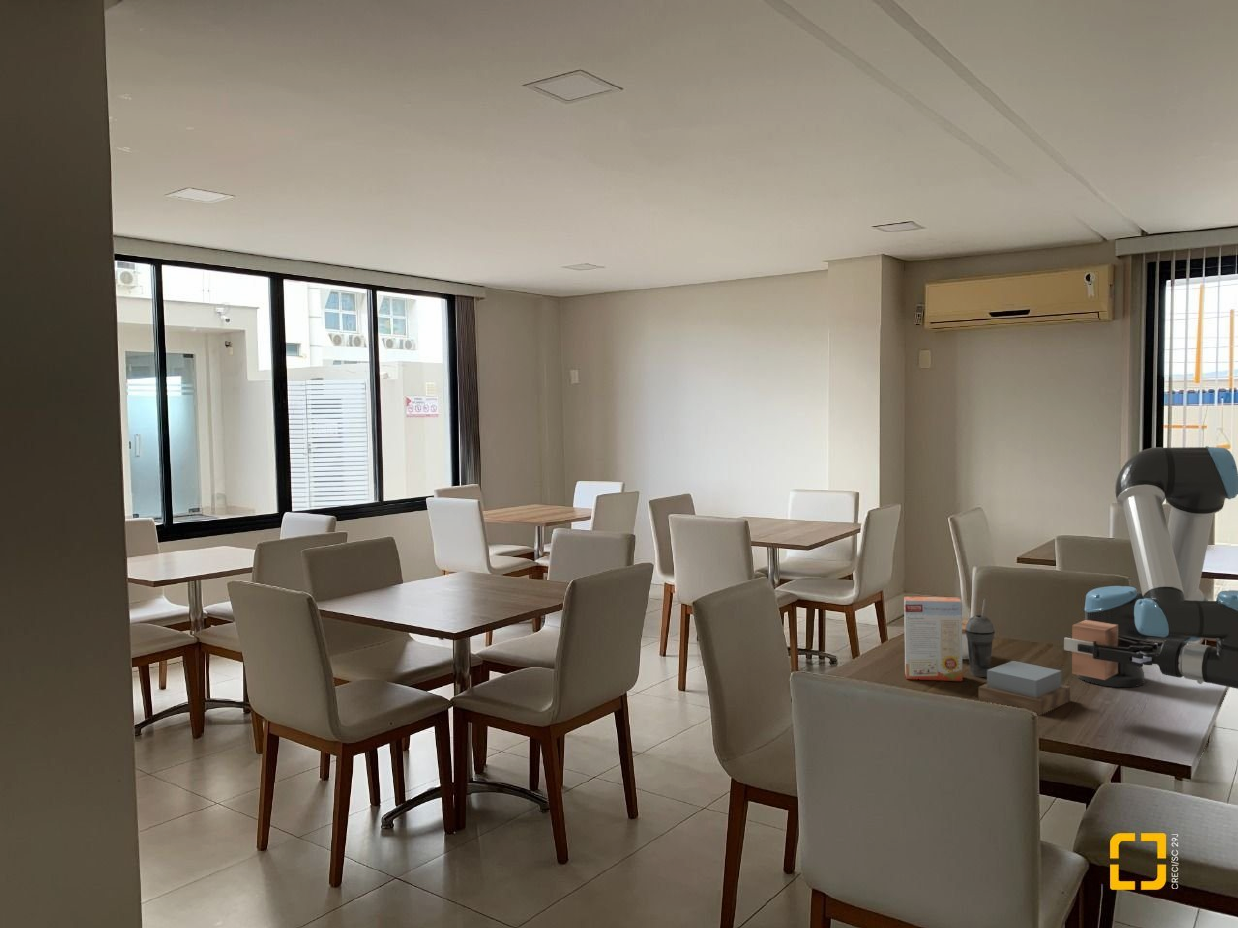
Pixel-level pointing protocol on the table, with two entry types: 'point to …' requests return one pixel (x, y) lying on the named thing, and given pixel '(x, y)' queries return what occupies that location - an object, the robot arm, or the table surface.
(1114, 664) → the terracotta pillar block
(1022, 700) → the walnut base slab
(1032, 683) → the slate top tile
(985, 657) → the beverage cup
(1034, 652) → the table surface
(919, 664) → the cracker box
